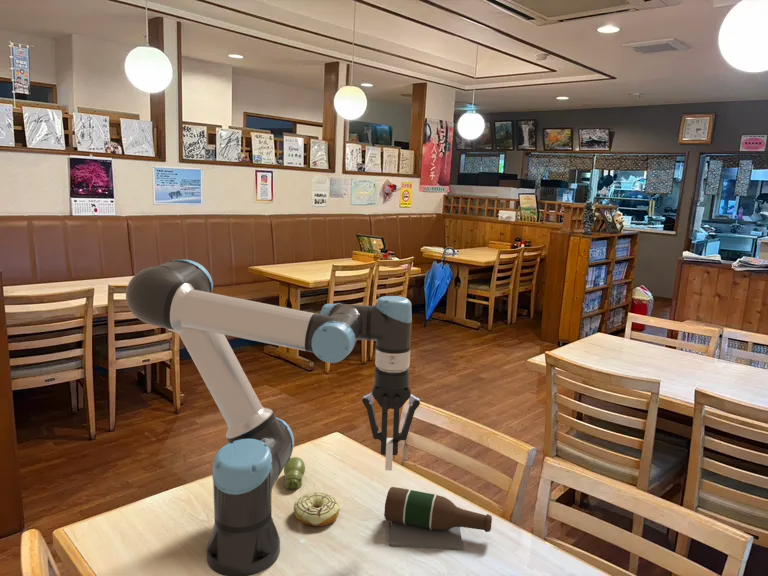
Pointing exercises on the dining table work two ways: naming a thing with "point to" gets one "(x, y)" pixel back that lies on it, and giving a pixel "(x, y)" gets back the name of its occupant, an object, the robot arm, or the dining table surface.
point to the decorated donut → (316, 509)
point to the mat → (425, 537)
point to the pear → (294, 473)
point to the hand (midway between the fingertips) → (388, 467)
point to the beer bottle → (430, 511)
